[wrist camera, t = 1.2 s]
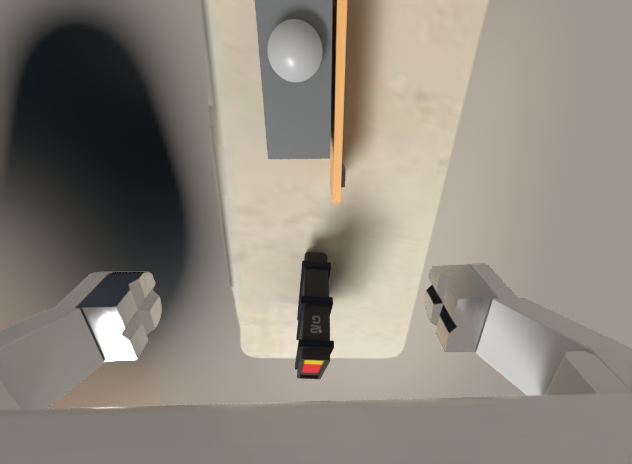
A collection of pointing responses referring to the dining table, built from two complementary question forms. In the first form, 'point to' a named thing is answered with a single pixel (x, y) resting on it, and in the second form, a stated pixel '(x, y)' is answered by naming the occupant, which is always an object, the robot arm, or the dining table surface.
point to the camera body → (296, 76)
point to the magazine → (314, 317)
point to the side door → (337, 97)
